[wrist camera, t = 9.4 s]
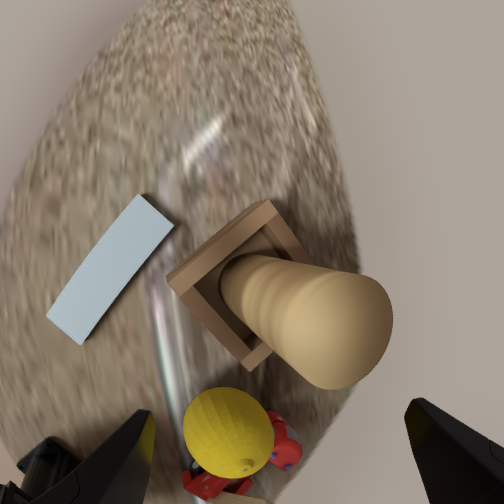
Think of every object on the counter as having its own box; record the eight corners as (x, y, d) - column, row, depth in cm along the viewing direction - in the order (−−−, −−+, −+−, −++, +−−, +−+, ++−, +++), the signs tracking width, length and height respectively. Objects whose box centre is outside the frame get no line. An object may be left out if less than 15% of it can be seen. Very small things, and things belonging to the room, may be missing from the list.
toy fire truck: (291, 422, 23) (353, 492, 14) (175, 502, 20) (195, 581, 11) (269, 402, 22) (332, 477, 13) (148, 486, 19) (160, 571, 10)
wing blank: (83, 341, 18) (80, 345, 17) (49, 312, 17) (46, 315, 16) (173, 225, 19) (174, 225, 18) (139, 195, 18) (138, 193, 18)
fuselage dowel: (227, 322, 20) (306, 408, 9) (210, 263, 19) (281, 299, 9) (282, 302, 21) (396, 359, 10) (269, 245, 20) (385, 259, 10)
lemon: (212, 354, 20) (246, 415, 13) (263, 395, 22) (312, 454, 14) (161, 404, 19) (172, 479, 12) (215, 440, 21) (245, 509, 13)
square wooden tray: (236, 354, 21) (249, 372, 18) (165, 276, 19) (167, 283, 16) (312, 285, 22) (334, 292, 20) (252, 203, 21) (268, 199, 18)
